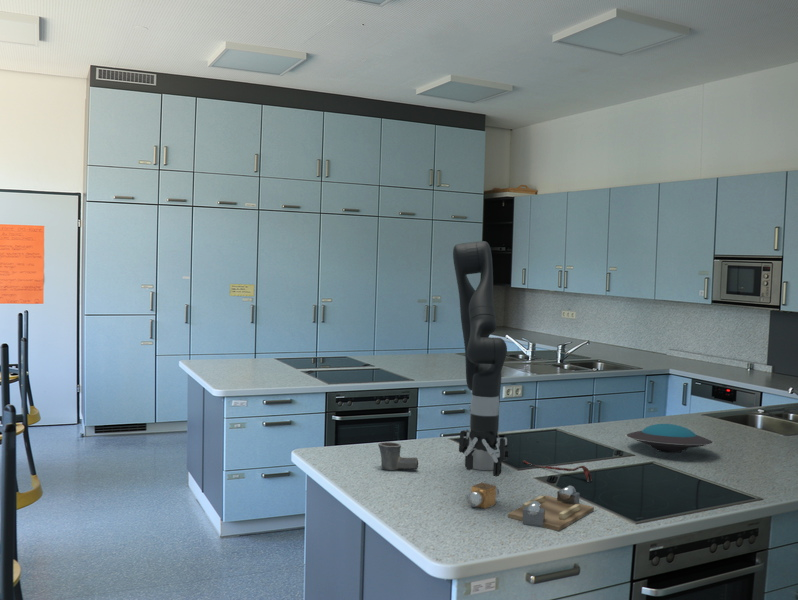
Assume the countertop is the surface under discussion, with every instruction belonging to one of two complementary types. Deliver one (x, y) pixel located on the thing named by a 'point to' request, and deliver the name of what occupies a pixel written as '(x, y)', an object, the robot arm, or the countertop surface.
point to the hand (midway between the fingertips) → (482, 472)
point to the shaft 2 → (568, 495)
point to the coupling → (483, 495)
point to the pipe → (395, 458)
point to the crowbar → (568, 470)
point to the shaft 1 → (534, 514)
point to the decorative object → (669, 438)
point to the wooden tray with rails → (555, 512)
